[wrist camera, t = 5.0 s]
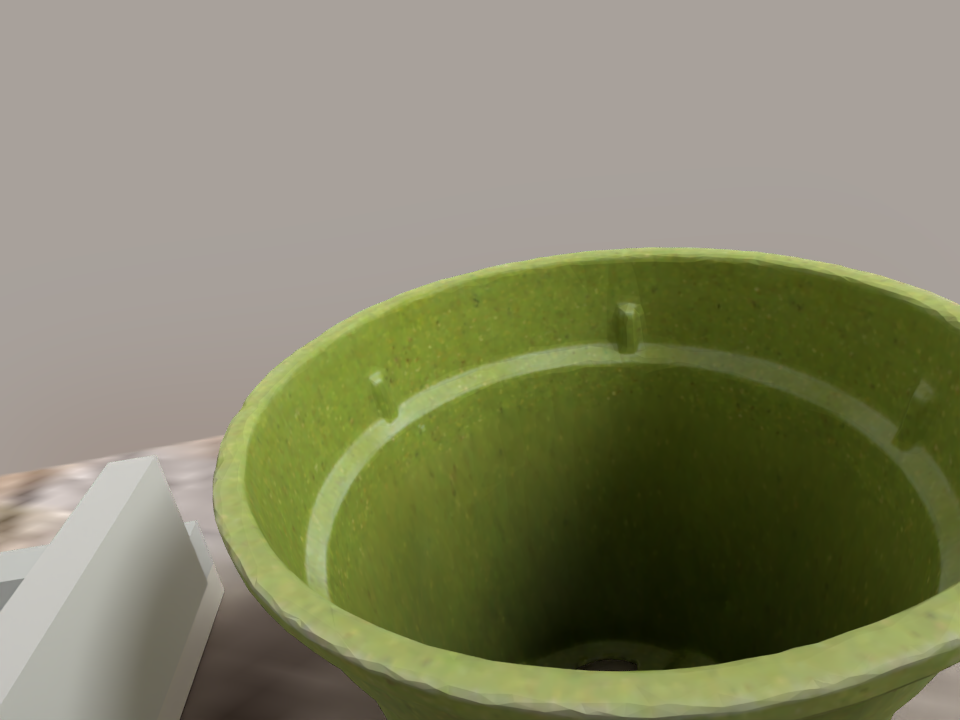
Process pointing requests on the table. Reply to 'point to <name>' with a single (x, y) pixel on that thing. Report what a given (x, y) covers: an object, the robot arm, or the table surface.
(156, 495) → the robot arm
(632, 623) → the plant pot
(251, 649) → the table surface
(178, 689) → the box
